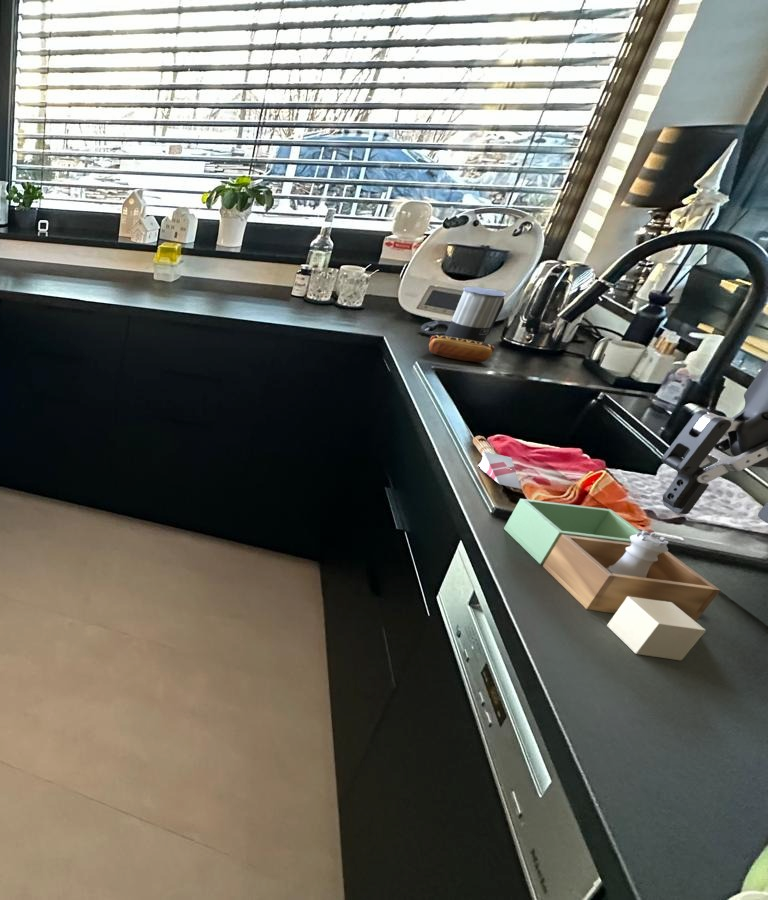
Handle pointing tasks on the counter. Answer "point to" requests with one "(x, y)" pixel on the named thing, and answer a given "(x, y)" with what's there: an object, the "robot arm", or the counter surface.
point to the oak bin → (624, 577)
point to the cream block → (655, 628)
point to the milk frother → (471, 315)
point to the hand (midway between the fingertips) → (721, 516)
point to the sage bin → (563, 525)
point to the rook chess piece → (640, 555)
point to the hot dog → (460, 348)
